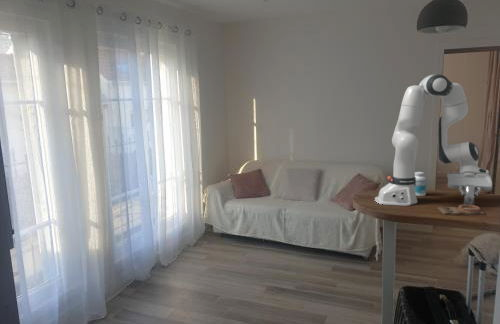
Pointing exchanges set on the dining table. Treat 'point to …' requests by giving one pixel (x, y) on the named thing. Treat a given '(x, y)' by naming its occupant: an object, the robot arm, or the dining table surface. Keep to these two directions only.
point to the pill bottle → (420, 184)
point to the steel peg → (469, 194)
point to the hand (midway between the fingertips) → (469, 195)
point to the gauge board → (456, 212)
